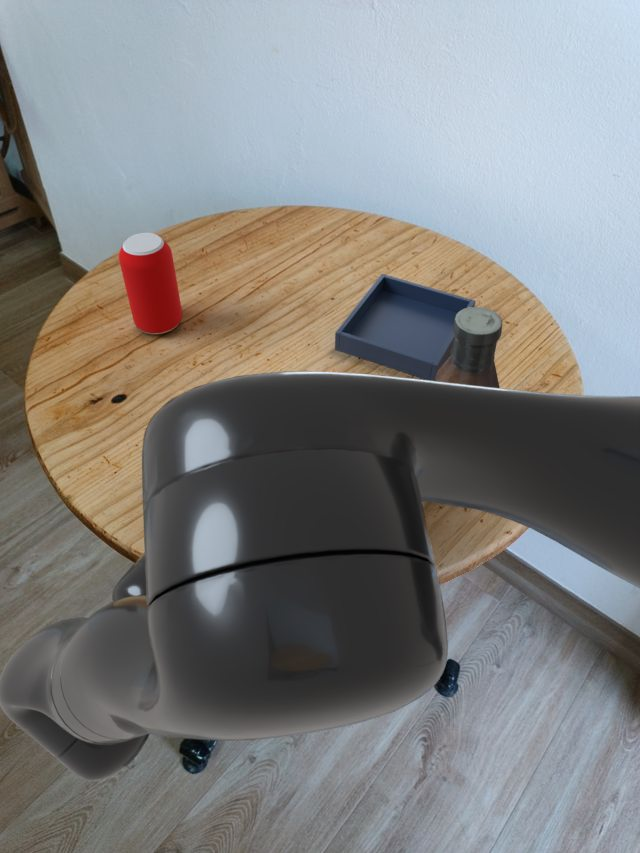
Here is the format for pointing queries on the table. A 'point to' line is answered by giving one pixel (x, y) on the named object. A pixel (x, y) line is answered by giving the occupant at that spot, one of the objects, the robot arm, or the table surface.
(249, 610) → the robot arm
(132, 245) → the beverage can
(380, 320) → the blue tray
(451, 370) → the sauce bottle
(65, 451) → the table surface
